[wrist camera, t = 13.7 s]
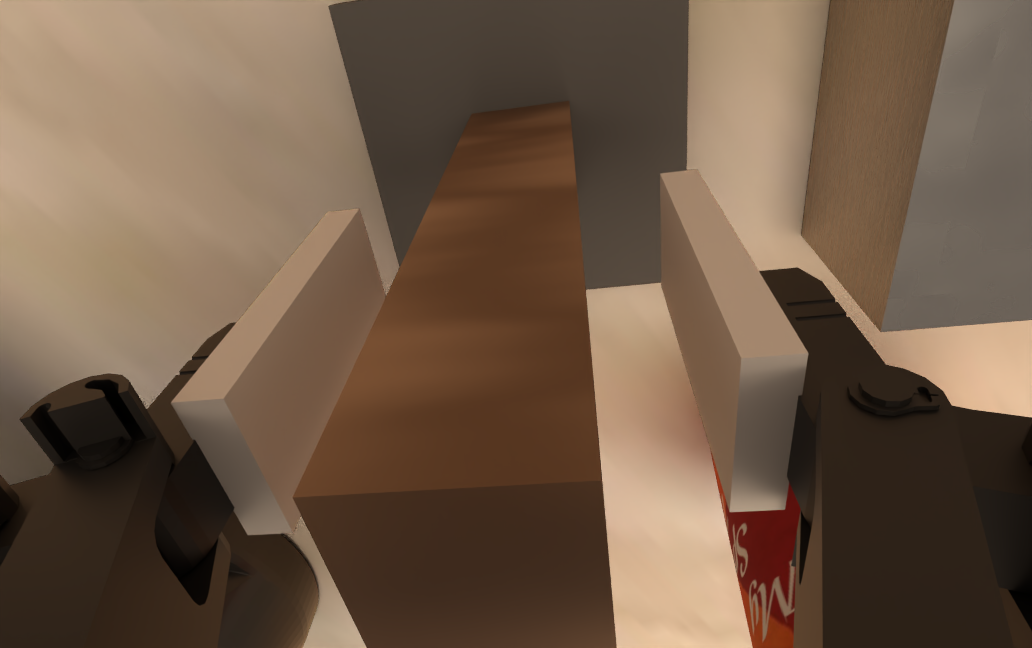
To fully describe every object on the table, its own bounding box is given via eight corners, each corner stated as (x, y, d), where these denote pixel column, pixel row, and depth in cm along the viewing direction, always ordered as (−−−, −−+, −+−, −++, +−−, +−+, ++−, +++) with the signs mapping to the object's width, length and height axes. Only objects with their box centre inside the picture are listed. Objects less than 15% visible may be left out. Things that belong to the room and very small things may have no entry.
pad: (413, 297, 23) (410, 306, 22) (334, 3, 18) (328, 6, 17) (682, 272, 22) (684, 280, 21) (684, -52, 16) (689, -52, 16)
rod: (487, 205, 20) (373, 661, 7) (471, 113, 18) (292, 498, 6) (577, 195, 20) (617, 656, 7) (569, 100, 18) (602, 480, 6)
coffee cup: (649, 370, 24) (751, 844, 12) (866, 295, 22) (1289, 788, 9) (711, 500, 28) (838, 961, 15) (901, 449, 26) (1232, 943, 13)
